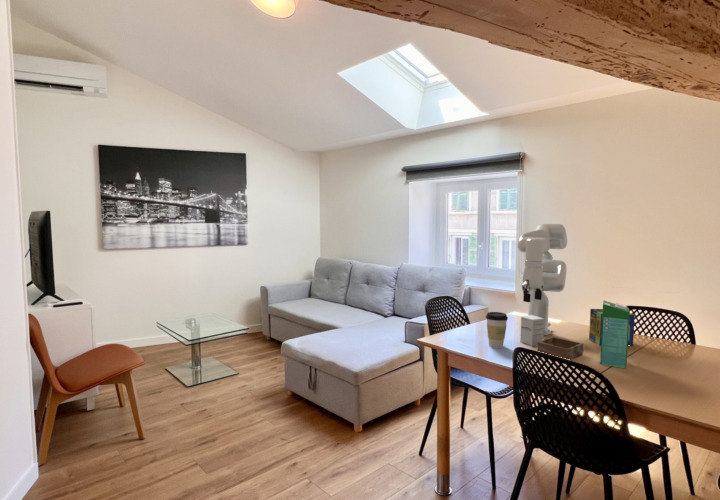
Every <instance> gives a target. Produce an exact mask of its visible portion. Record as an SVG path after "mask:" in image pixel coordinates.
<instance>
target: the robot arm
mask: <svg viewBox="0 0 720 500" xmlns="http://www.w3.org/2000/svg"><path fill="white" fill-rule="evenodd" d="M567 245H568V236H567V230H566V228H565V225H563V224H561V223H541V224H539V225H537V227H536V228H535V229H534V230H533V231H532V230H531V231H529V232H526V233H523V234H521V236H519V239H518V241H517V249H518V251H520V253H525V260H524V261H525V262H524V269H523V276H522V284H521V289H522V293H523V298H522V299H523V302H525V303H528V309H527V310H528V313H527V316H528V315H533V316H537V317H540V318H544V328H543V336H549V335H551V334H552V332H551V330H550V329H549V327H551V322H549V306H550V304H549V302H550V301H549V297H548V295H547V294H546V293H545V292H555V293H560V292H563V291H564V289H565V285H566V278H567V269H568V268H567V264H566V262H565V261H563V260H559V259H553V255H552V254H551V252H549V250H564V249H566V247H567Z"/></svg>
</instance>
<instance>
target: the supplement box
mask: <svg viewBox="0 0 720 500" xmlns="http://www.w3.org/2000/svg"><path fill="white" fill-rule="evenodd" d="M520 319H521V320H520V322H521V323H520V340H519V341H520V342H521V343H524V344H526V345H530V346H531V347H533V346H538V342H539V341H542V340H544V335H543V328H544V318H540V317H537V316H533V315H528V314H527V315H521V318H520Z"/></svg>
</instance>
